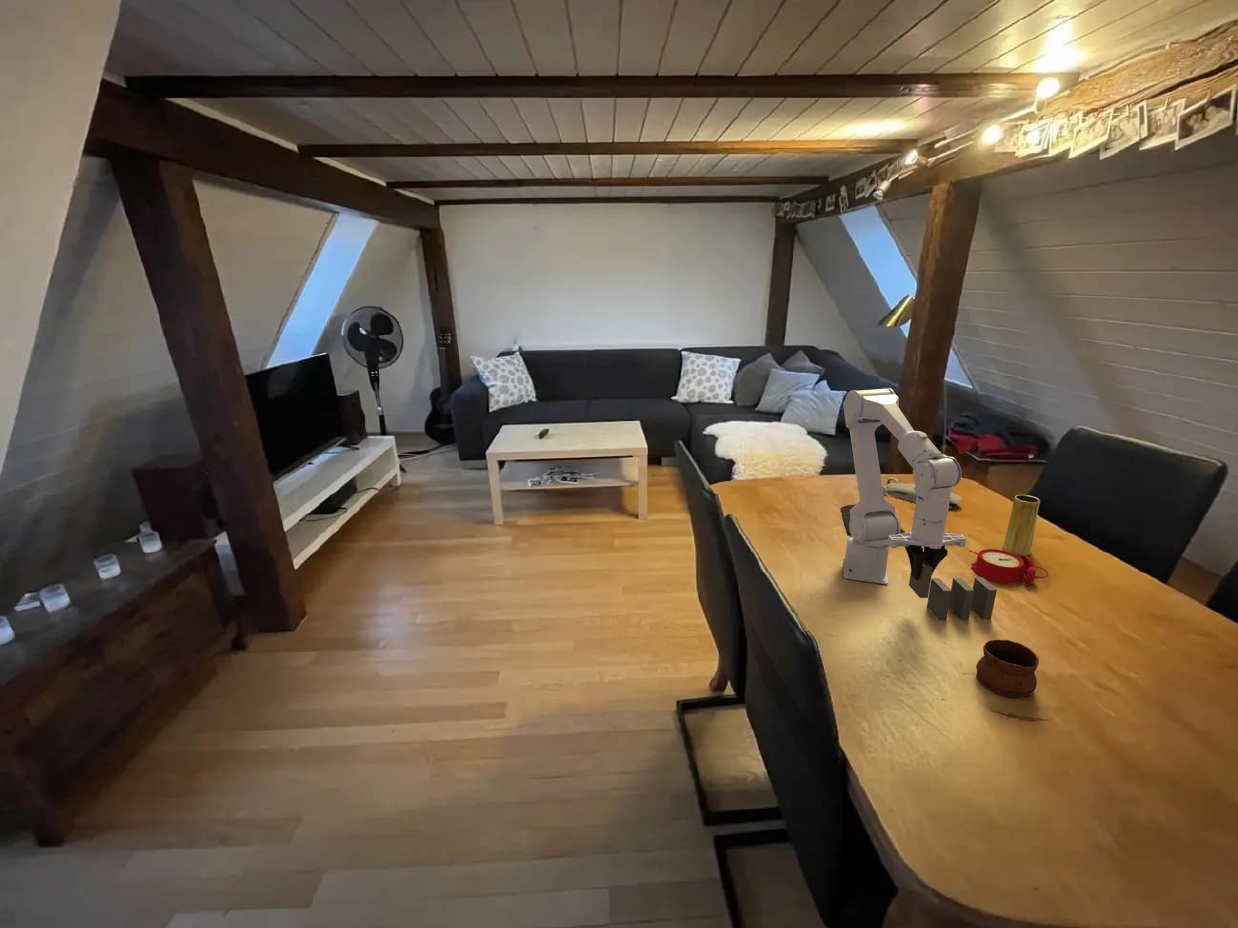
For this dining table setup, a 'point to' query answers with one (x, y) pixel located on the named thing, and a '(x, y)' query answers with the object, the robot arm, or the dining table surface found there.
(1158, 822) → the dining table surface
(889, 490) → the car model
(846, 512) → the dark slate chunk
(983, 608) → the domino
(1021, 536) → the vase
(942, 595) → the domino
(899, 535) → the robot arm
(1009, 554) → the alarm clock
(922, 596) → the loose domino
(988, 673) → the ceramic pot
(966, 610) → the domino
